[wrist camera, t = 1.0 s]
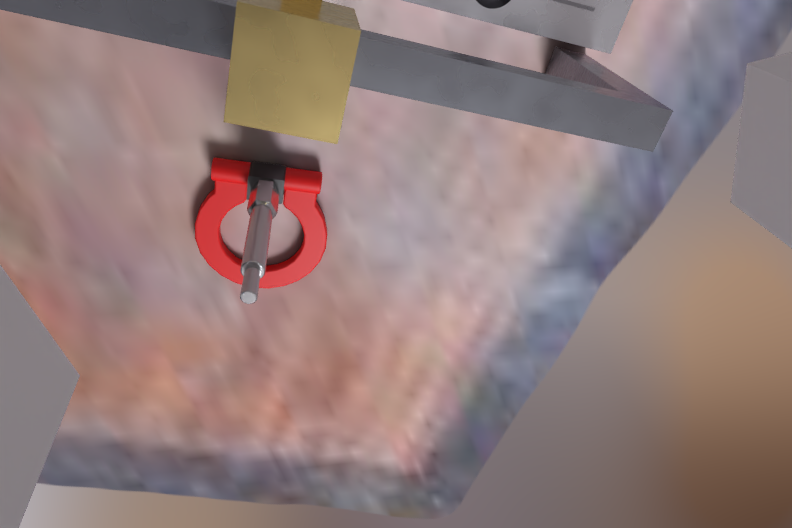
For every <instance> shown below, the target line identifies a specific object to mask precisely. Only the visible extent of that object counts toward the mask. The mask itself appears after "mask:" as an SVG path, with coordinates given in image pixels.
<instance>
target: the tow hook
mask: <svg viewBox="0 0 792 528" xmlns="http://www.w3.org/2000/svg"><path fill="white" fill-rule="evenodd" d="M211 179H212V180H214V181H215V189H214V190H212V191H211V192H210V193H209V194H208V196H207V197H206V198H205V200H204V201H203V203H202V204H201V206H200V209H199V212H198V215H197V219H196V222H195V239H196V242H197V245H198V248H199V250H200V253H201V254H202V256H203V257H204V259H205V260H206V261H207V263H208V264H209V265H210V266H211V267H212V268H213V269H214V270H216V271H217V272H218V273H219V274H220V275H221V276H223V277H225V278H227V279H229V280H231V281H233V282H235V283H238V284H242V288H241V294H240V299H241V300H242V301H243V302H244V303H247V304H251V303H254V302H255V301H256V300H257V296H258V289H259V288H274V287H280V286H285V285H288V284H291V283H293V282H296V281H298V280H300V279H301V278H303V277H304V276H306V275H307V274H309V273H310V272H311V271H312V270H313V269H314V268H315V267H316V265H317V264H318V263H319V262H320V260H321V258H322V256H323V253H324V251H325V249H326V240H327V227H326V222H325V217H324V214H323V212H322V211H321V209H320V207H319V205H318V203H317V202H316V198H317V194H319V193H320V190H321V184H322V172H317V171H310V170H303V169H295V168H288V167H286V166H285V165H278V164H271V163H264V162H256V161H252V162H244V161H237V160H230V159H222V158H215V157H214V158H213V161H212V164H211ZM284 190H285V192H284ZM283 192H284V201H283ZM246 198H247V199H248V200H249V202H248V207H247V211H248V213H249V215H250V220H249V226H248V231H247V236H246V242H245V247H244V252H243V258H242V260H241V259H239V258H237V257H236V256H235V255H234V254H232V253H231V252H230V251H229V250H228V248H227V247H226V245H225V244H224V242H223V240H222V237H221V234H220V224H221V221H222V219H223V218H224V216H225V215H226V213H227V212H228V211H229V210H231V209H232V208H233V207H235V206H236V205H239V204H241V203H244V201H245V200H246ZM282 201H283V204H284V206H285V208H287V209H289V210H290V211H291V212H292V213H293V214H294V215H295V216H296V217H297V218H298V220H299V222H300V223H301V225H302V228H303V232H304V240H303V242H302V245H301V247H300V249H299V250H298V251H297V252H296V254H295V255H294V256H292V257H291V258H289V259H288V260H286V261H284V262H281V263H279V264H274V265H268V266H266V262H267V255H268V247H269V239H270V231H271V223H272V219H273V218H274V217H275V216H276V214H277V211H278V204H282Z"/></svg>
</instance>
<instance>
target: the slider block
mask: <svg viewBox="0 0 792 528" xmlns="http://www.w3.org/2000/svg"><path fill="white" fill-rule="evenodd" d="M360 34H361V29H360V26H359V23H358V20H357V16H356V13H355V10H354V9H353V8H349V7H345V6H341V5H337V4H333V3H329V2H324V1H322V0H237V4H236V13H235V22H234V32H233V41H232V50H231V59H230V68H229V78H228V87H227V96H226V105H225V115H224V122H226V123H231V124H236V125H242V126H247V127H252V128H257V129H262V130H267V131H272V132H278V133H283V134H288V135H293V136H298V137H303V138H308V139H313V140H319V141H324V142H329V143H334V144H337V143H338V138H339V134H340V129H341V124H342V119H343V115H344V110H345V105H346V100H347V96H348V91H349V86H350V81H351V77H352V72H353V67H354V62H355V58H356V53H357V48H358V43H359V39H360Z"/></svg>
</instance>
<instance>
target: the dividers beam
mask: <svg viewBox="0 0 792 528" xmlns="http://www.w3.org/2000/svg"><path fill="white" fill-rule="evenodd" d="M236 4H237V0H0V9H1V10H5V11H10V12H14V13H19V14H24V15H28V16H33V17H37V18H42V19H46V20H51V21H56V22H60V23H65V24H69V25H74V26H79V27H83V28H88V29H92V30H97V31H101V32H106V33H111V34H115V35H120V36H124V37H129V38H134V39H138V40H143V41H147V42H152V43H156V44H161V45H166V46H170V47H175V48H179V49H184V50H189V51H193V52H198V53H202V54H207V55H211V56H216V57H221V58H225V59H231V50H232V41H233V32H234V22H235V13H236ZM350 86H354V87H358V88H363V89H367V90H372V91H376V92H381V93H386V94H390V95H395V96H399V97H404V98H409V99H413V100H418V101H422V102H427V103H431V104H436V105H441V106H445V107H450V108H454V109H459V110H464V111H468V112H473V113H477V114H482V115H486V116H491V117H496V118H500V119H505V120H509V121H514V122H519V123H523V124H528V125H532V126H537V127H541V128H546V129H551V130H555V131H560V132H564V133H569V134H574V135H578V136H583V137H587V138H592V139H596V140H601V141H606V142H610V143H615V144H619V145H624V146H629V147H633V148H638V149H642V150H647V151H651V152H653V151H654V149H655V147H656V145H657V143H658V141H659V139H660V136H661V134H662V132H663V130H664V128H665V126H666V124H667V122H668V120H669V118H670V116H671V114H672V112H673V111H672V110H671V109H669V108H668V107H666V106H665V105H663V104H661V103H660V102H658V101H657V100H655V99H654V98H652V97H651V96H649V95H648V94H646V93H644V92H643V91H641V90H640V89H638V88H637V87H635V86H634V85H632V84H631V83H629V82H627V81H626V80H624V79H623V78H621V77H620V76H618V75H617V74H615V73H614V72H612V71H610V70H609V69H607V68H606V67H604V66H603V65H601V64H600V63H598V62H597V61H595V60H594V59H592V58H590V57H589V56H587V55H586V54H582V53H578V52H575V51H571V50H567V49H563V48H559V47H555V49H554V51H553V54H552V57H551V59H550V62H549V65H548V67H547V70H546V73H545V74H544V73H540V72H536V71H532V70H527V69H523V68H519V67H515V66H511V65H507V64H502V63H498V62H494V61H490V60H486V59H482V58H478V57H473V56H469V55H465V54H461V53H457V52H453V51H448V50H444V49H440V48H436V47H432V46H428V45H424V44H419V43H415V42H411V41H407V40H403V39H399V38H394V37H390V36H386V35H382V34H378V33H374V32H370V31H365V30H361V34H360V39H359V43H358V48H357V53H356V58H355V62H354V67H353V72H352V77H351V81H350Z"/></svg>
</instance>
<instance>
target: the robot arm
mask: <svg viewBox="0 0 792 528" xmlns="http://www.w3.org/2000/svg"><path fill="white" fill-rule="evenodd" d="M734 170H735V171H734V178H733V186H732V194H731V203H732V204H733V205H735V206H736V207H738V208H739V209H740V210H742V211H743V212H744V213H745V214H747V215H748V216H750V217H751V218H752V219H753V220H755V221H756V222H758V223H759V224H760V225H761V226H763V227H764V228H765V229H767V230H768V231H769V232H771V233H772V234H773V235H775V236H776V237H777V238H779V239H780V240H781V241H783V242H784V243H785V244H787V245H788V246H789V247H791V248H792V52H789V53H785V54H781V55H777V56H774V57H770V58H766V59H762V60H759V61H755V62H751V63H747V70H746V78H745V86H744V95H743V103H742V113H741V120H740V128H739V137H738V145H737V153H736V162H735V169H734ZM79 377H80V375H79V374H78V372H77V371H76V370H75V368H74V367H73V365H72V364H71V363H70V361H69V360H68V358H67V357H66V356H65V354H64V353H63V351H62V350H61V349H60V347H59V346H58V344H57V343H56V342H55V340H54V339H53V338H52V336H51V335H50V333H49V332H48V331H47V329H46V328H45V326H44V325H43V324H42V322H41V321H40V319H39V318H38V317H37V315H36V314H35V312H34V311H33V310H32V308H31V307H30V306H29V304H28V303H27V301H26V300H25V299H24V297H23V296H22V294H21V293H20V292H19V290H18V289H17V287H16V286H15V285H14V283H13V282H12V280H11V279H10V278H9V276H8V275H7V273H6V272H5V271H4V269H3V268H2V267H1V265H0V528H19V525H20V523H21V521H22V518H23V516H24V513H25V511H26V508H27V506H28V503H29V501H30V498H31V496H32V493H33V491H34V488H35V486H36V483H37V481H38V479H39V476H40V474H41V471H42V469H43V466H44V464H45V461H46V459H47V456H48V454H49V451H50V449H51V446H52V444H53V441H54V439H55V436H56V434H57V431H58V429H59V426H60V424H61V421H62V419H63V416H64V414H65V411H66V409H67V406H68V404H69V401H70V399H71V396H72V394H73V391H74V389H75V386H76V384H77V382H78V379H79Z"/></svg>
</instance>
